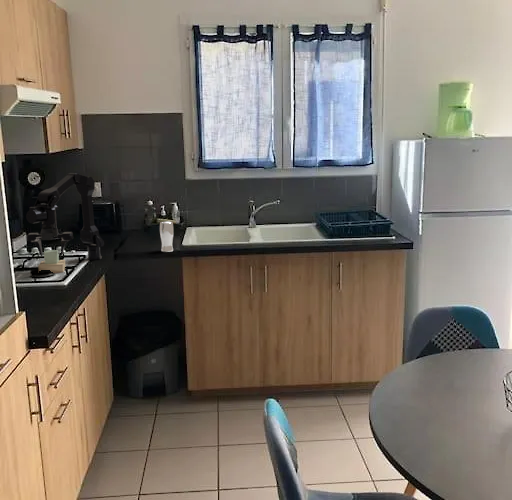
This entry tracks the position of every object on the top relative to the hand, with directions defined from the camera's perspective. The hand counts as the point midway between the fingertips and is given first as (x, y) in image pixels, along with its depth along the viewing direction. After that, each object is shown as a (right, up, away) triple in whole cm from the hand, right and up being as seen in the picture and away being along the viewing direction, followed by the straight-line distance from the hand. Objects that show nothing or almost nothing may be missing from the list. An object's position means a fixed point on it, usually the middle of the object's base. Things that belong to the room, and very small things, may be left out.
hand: (51, 255), depth 253 cm
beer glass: (+44, +2, +46) cm, 64 cm away
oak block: (0, -7, +1) cm, 7 cm away
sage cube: (0, -3, 0) cm, 3 cm away
